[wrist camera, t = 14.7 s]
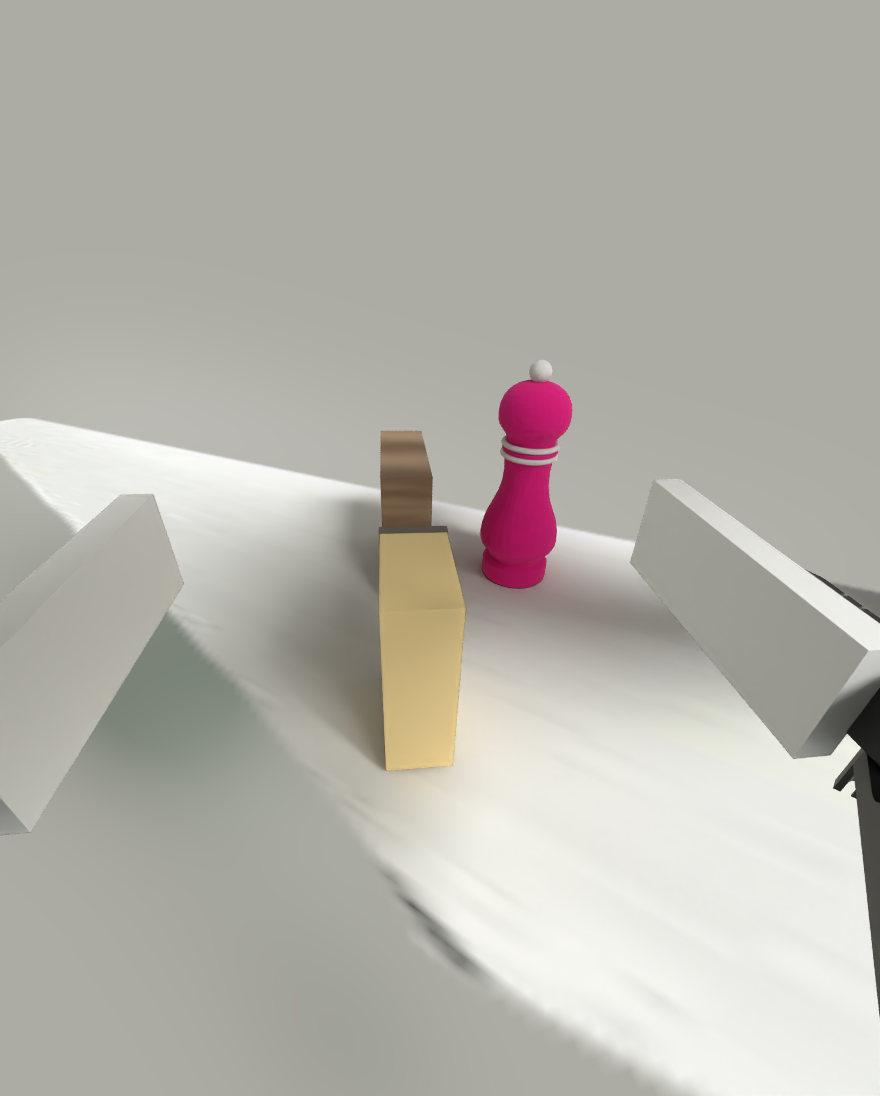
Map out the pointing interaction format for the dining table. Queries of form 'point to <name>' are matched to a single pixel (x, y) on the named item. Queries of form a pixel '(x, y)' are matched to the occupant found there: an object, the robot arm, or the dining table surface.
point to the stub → (419, 645)
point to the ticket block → (405, 480)
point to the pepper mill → (525, 481)
